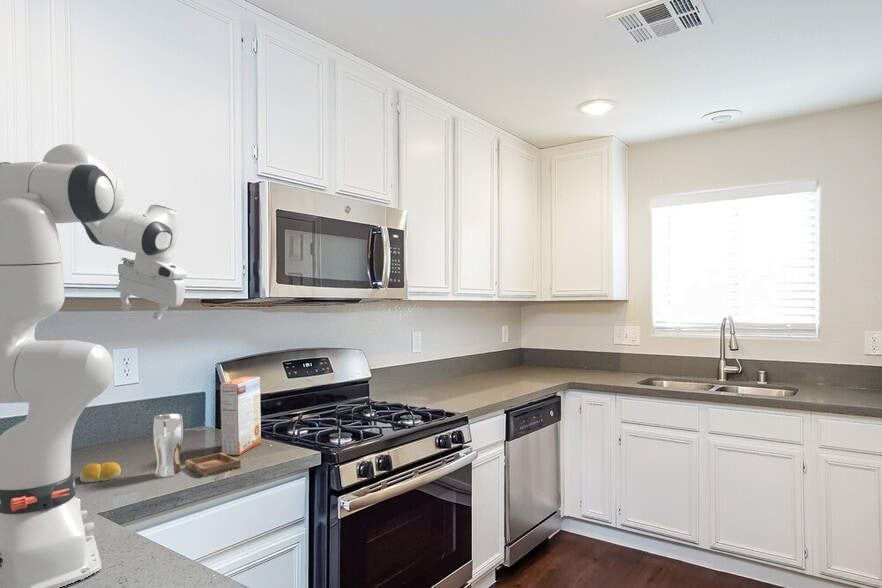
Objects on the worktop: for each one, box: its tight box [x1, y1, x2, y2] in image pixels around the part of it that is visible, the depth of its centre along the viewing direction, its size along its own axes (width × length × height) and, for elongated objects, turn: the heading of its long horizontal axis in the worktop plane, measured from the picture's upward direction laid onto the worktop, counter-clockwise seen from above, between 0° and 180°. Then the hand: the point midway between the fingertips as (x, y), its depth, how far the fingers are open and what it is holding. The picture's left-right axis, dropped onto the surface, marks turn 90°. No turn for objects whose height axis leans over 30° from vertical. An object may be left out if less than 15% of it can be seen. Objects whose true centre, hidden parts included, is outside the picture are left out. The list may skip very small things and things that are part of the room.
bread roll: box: [79, 461, 122, 484], centre depth 144 cm, size 8×9×4 cm
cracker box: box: [219, 376, 262, 456], centre depth 168 cm, size 14×6×21 cm, turn 171°
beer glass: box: [152, 413, 184, 478], centre depth 146 cm, size 7×7×15 cm
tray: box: [184, 452, 242, 477], centre depth 151 cm, size 11×10×2 cm
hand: (141, 314), depth 153 cm, fingers open, 8 cm apart
